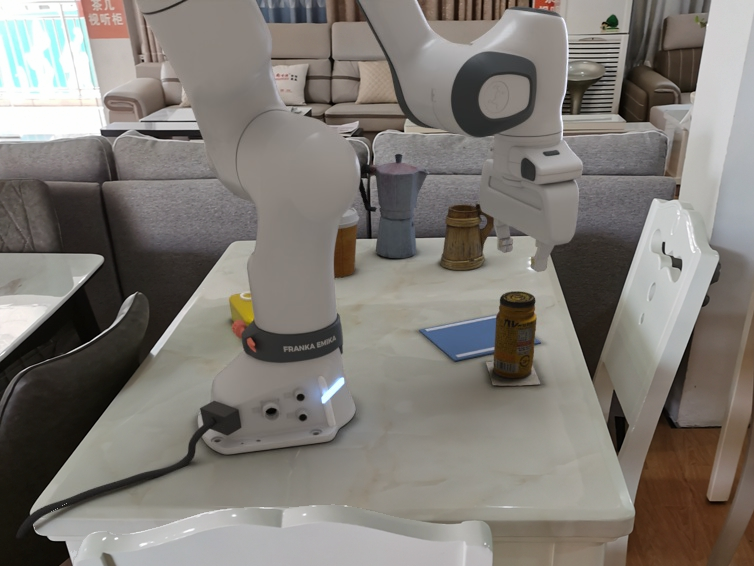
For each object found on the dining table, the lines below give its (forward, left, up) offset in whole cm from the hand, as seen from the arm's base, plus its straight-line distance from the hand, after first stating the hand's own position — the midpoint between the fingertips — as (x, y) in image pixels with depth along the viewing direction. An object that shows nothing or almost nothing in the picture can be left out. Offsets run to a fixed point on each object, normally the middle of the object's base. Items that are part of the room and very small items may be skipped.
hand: (521, 260), depth 111 cm
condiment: (0, 0, -18) cm, 18 cm away
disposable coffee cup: (-8, +58, -18) cm, 61 cm away
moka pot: (+7, +64, -18) cm, 67 cm away
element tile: (-27, +36, -18) cm, 48 cm away
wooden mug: (+19, +50, -18) cm, 56 cm away
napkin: (+2, +15, -18) cm, 23 cm away
